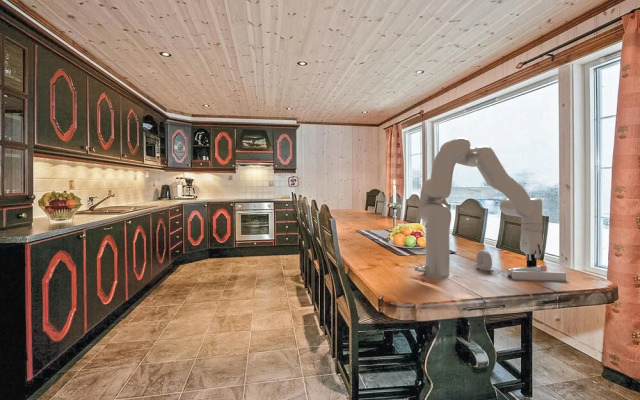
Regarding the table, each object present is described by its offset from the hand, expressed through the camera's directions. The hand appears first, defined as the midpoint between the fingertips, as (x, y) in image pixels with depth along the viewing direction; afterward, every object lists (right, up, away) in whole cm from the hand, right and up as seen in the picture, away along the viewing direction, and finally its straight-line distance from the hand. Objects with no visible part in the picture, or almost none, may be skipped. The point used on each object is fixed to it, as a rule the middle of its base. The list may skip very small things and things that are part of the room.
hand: (531, 269), depth 136 cm
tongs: (-5, -3, -8) cm, 9 cm away
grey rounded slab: (-18, -3, +6) cm, 19 cm away
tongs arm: (-5, -1, -5) cm, 7 cm away
